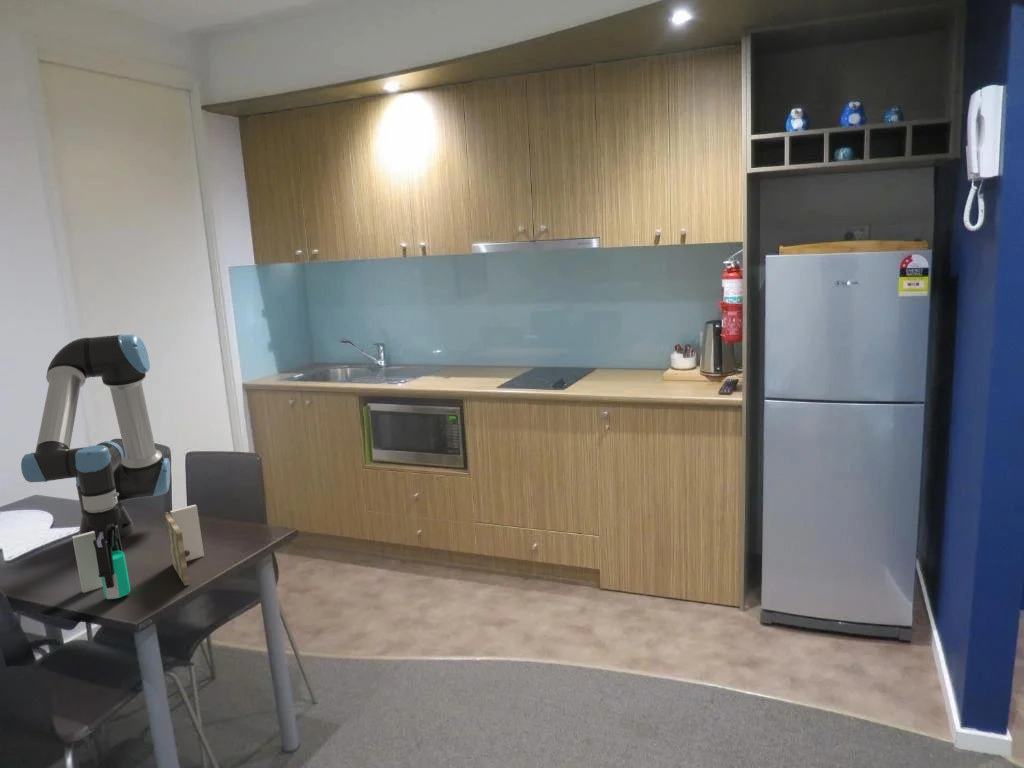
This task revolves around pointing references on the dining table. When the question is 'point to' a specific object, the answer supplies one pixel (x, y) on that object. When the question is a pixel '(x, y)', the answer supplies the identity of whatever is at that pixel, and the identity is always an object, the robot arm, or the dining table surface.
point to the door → (177, 549)
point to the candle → (119, 574)
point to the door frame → (191, 540)
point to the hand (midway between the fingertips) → (116, 591)
